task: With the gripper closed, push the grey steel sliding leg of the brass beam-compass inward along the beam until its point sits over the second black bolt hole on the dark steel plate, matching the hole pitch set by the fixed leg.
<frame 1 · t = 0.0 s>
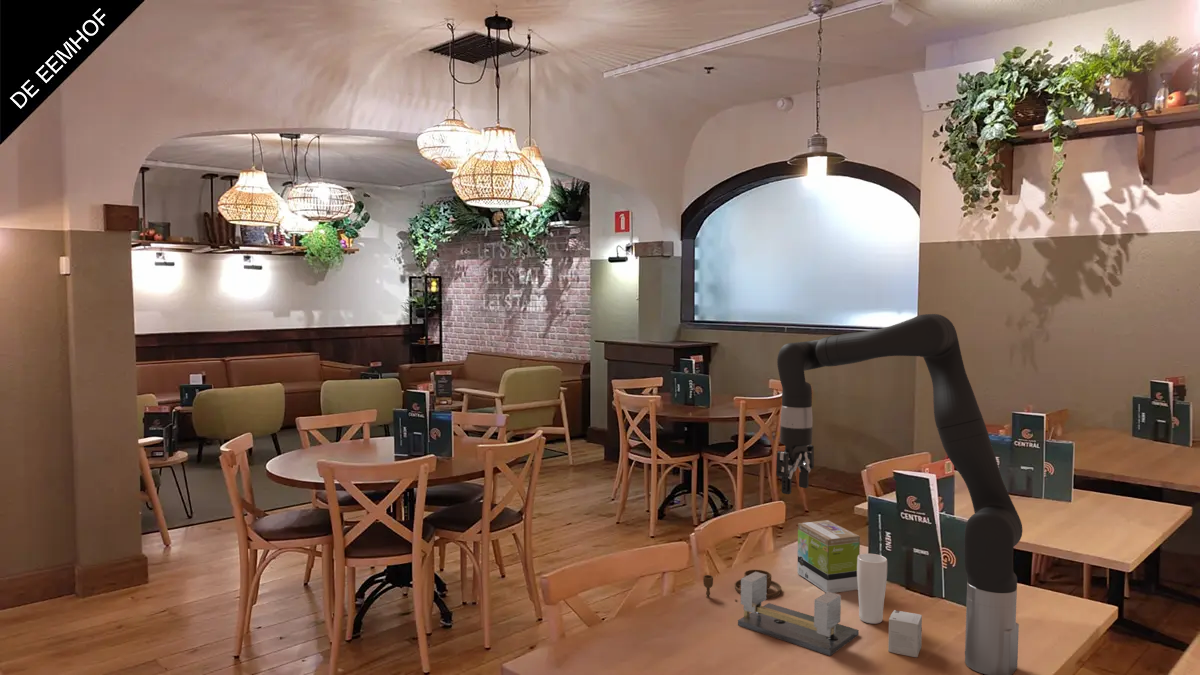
hand: (795, 490, 193), 29 cm above the table, fingers open, 8 cm apart
sliding leg: (753, 596, 185), point 6 cm above the table, slide at 0.0 cm
tea box: (827, 583, 212), on the table
skincare box: (904, 650, 172), on the table
place setting: (741, 592, 207), on the table
drinking glass: (870, 620, 188), on the table
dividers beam: (788, 607, 179), on the bolt-hole plate, point 6 cm above the table
bolt-hole plate: (797, 630, 182), on the table
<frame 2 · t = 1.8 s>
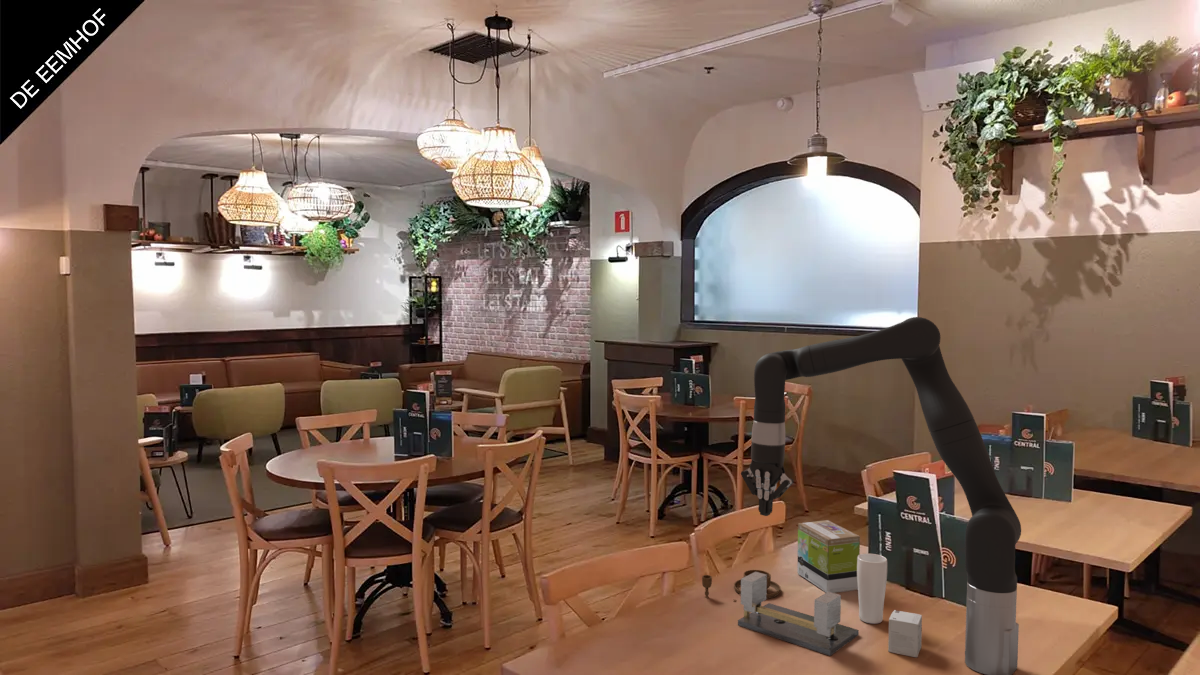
hand: (765, 514, 182), 26 cm above the table, fingers closed
nothing on the table moved.
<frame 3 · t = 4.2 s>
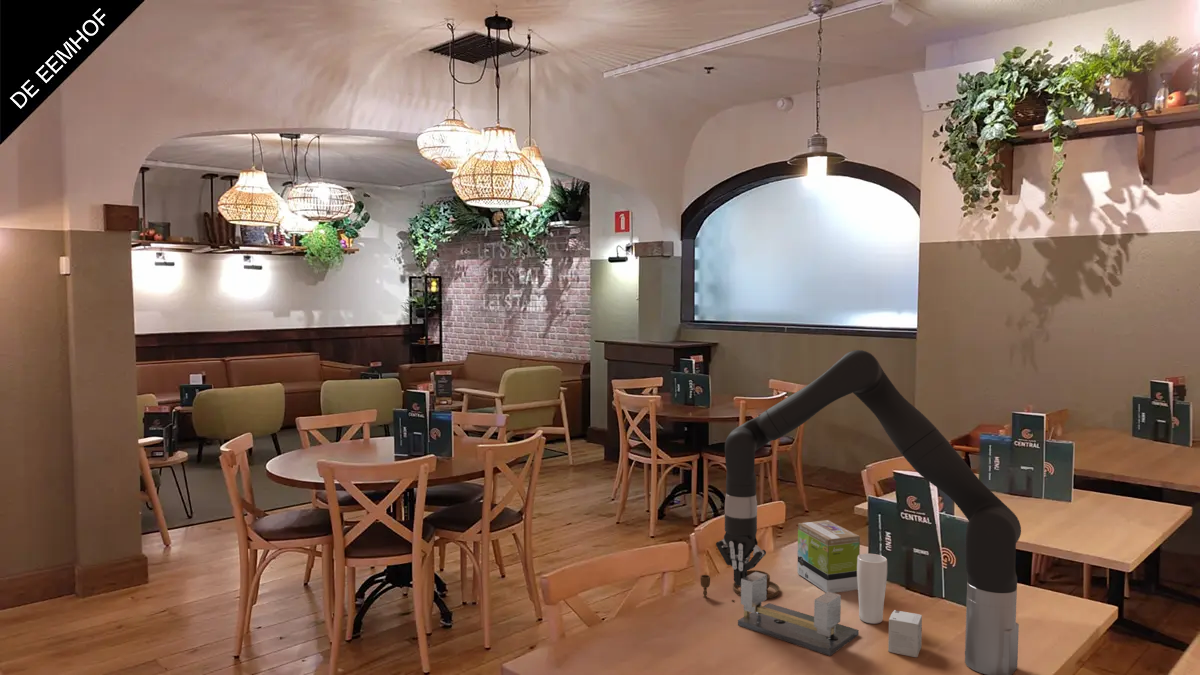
hand: (740, 584, 188), 8 cm above the table, fingers closed
sliding leg: (753, 596, 185), point 6 cm above the table, slide at 0.0 cm, touching gripper
everything else where it was.
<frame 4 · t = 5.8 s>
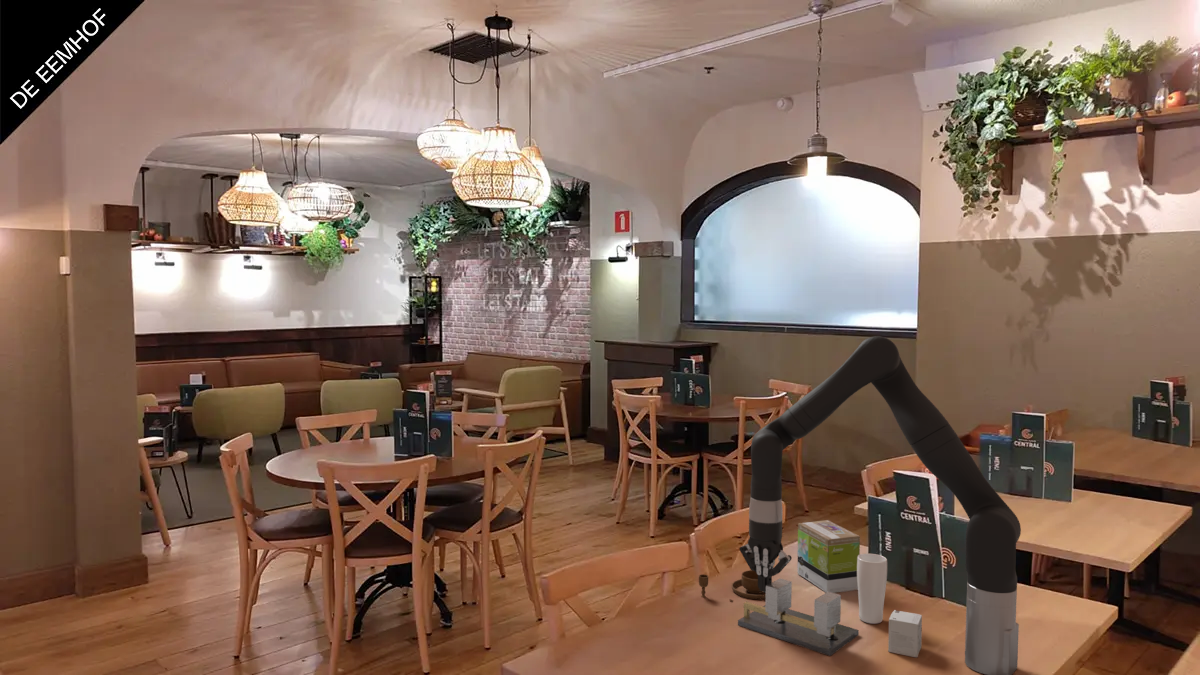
hand: (764, 590, 183), 8 cm above the table, fingers closed
sliding leg: (778, 603, 181), point 6 cm above the table, slide at -6.5 cm, touching gripper
everything else where it was.
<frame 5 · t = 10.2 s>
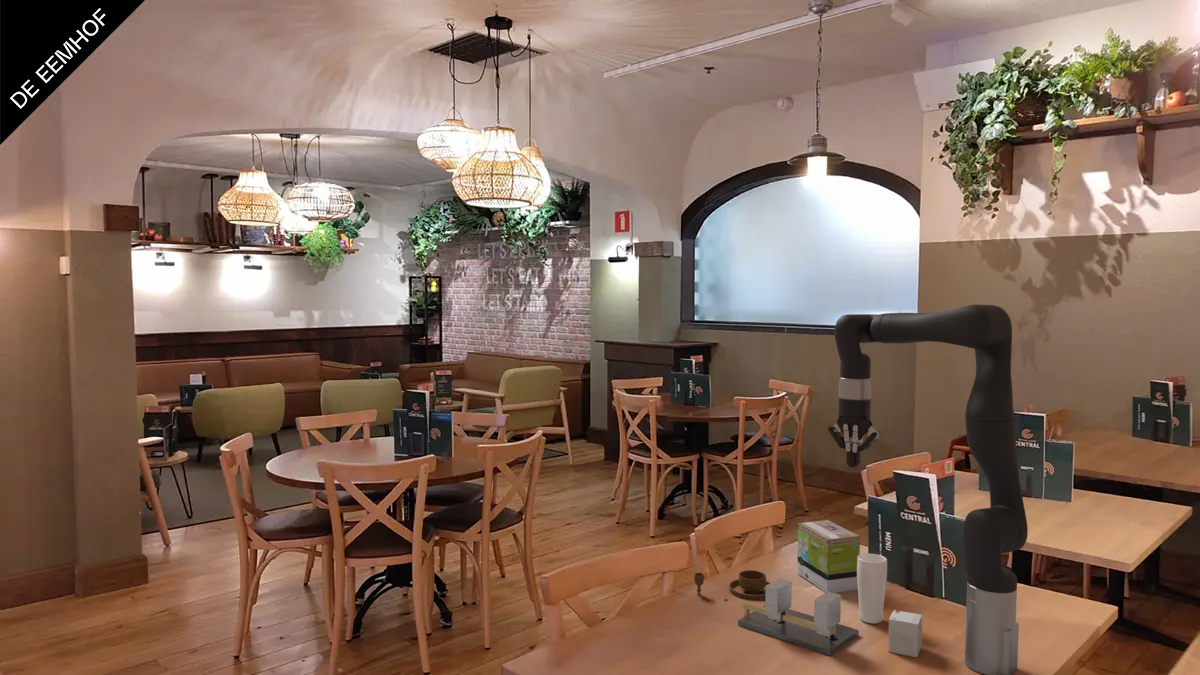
hand: (853, 466, 193), 35 cm above the table, fingers closed
sliding leg: (778, 603, 181), point 6 cm above the table, slide at -6.5 cm
at the end: sliding leg slide at -6.5 cm; sliding leg 1.0 cm from the target spot, resting on bolt-hole plate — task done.
